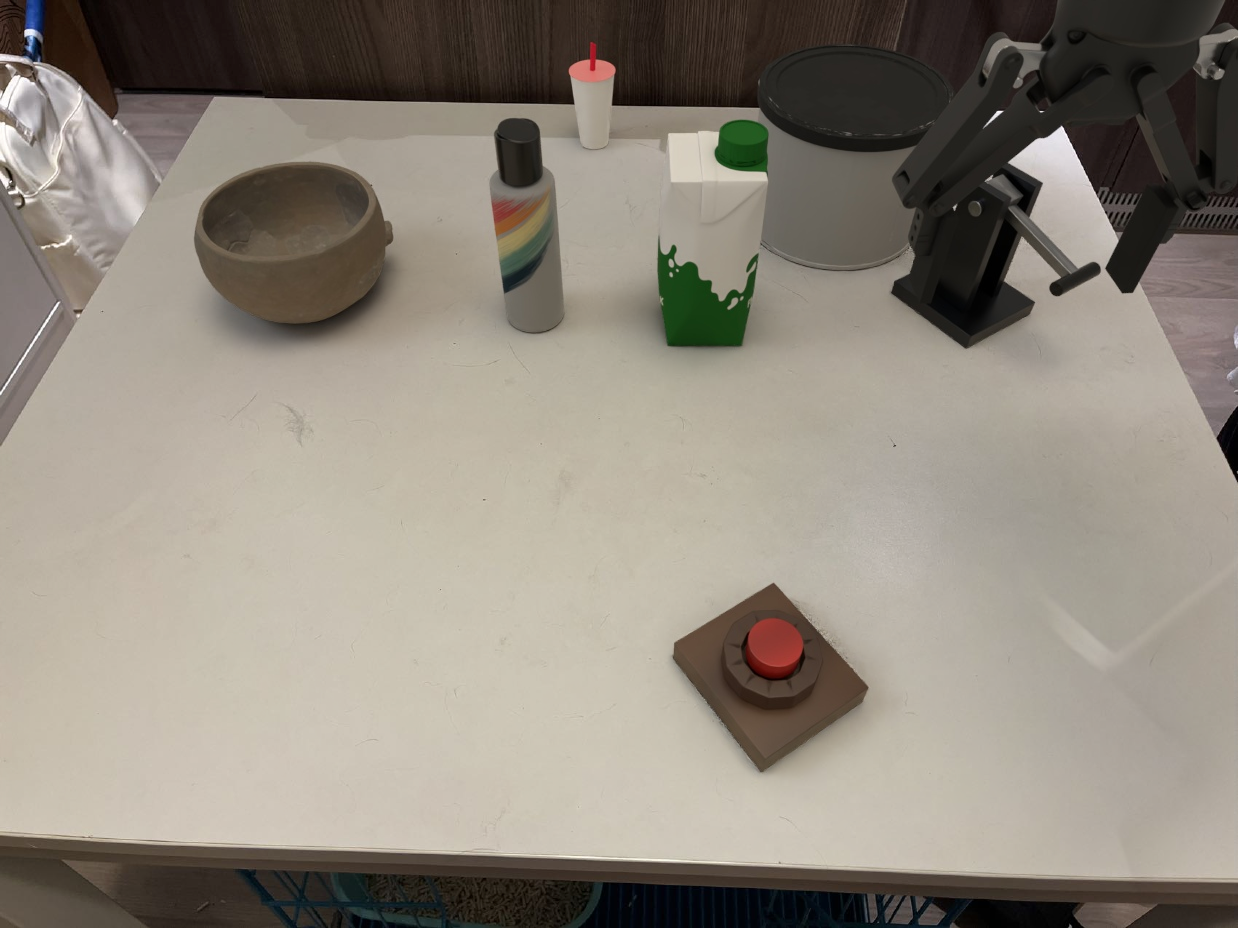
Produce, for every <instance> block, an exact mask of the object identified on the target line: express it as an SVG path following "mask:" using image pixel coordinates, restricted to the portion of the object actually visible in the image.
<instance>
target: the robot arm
mask: <svg viewBox="0 0 1238 928" xmlns="http://www.w3.org/2000/svg"><path fill="white" fill-rule="evenodd" d="M1225 2H1226V0H1057V2H1056V3H1057V4H1056V8H1055V15H1054V20H1053V23H1052V25H1051V27H1050V28H1049V30H1048V31H1047V33H1046V34H1045V35H1044V36H1043V38H1042V39H1041V40H1040V41H1039V42H1038V43H1035V42H1034V43H1033V42H1021V41H1013V40H1011V38H1010V37H1009V36H1008V35H1007V34H1006V32H1003V31H997V32H994V33H992V34H991V35H990V36H989V37H988V38H987V40H986V41H985V44H984V46H983V48H982V51H981V53H980V56H979V58H978V61H977V63H976V66H975V68H974V70H973V72H972V74H971V75H970V77H969V78H968V79H967V80H966V82H965V83H964V84H963V85H962V86H961V88H960V89H959V91H958V92H957V93H955V97H954V98H953V99H952V101H951V102H950V103H949V105H948V106H947V107H946V108H945V110H944V111H943V112H942V114H941V115H940V116H939V117H938V119H937V120H936V121H935V122H934V124H933V125H932V126H931V128H930V129H929V130H928V131H927V133H926V134H925V135H924V137H923V138H922V139H921V140H920V142H919V143H918V144H917V145H916V147H915V148H914V149H913V151H912V152H911V153H910V154H909V156H908V157H907V158H906V160H905V161H904V162H903V163H902V165H901V166H900V167H899V168H898V170H897V171H896V172H895V174H894V175H893V177H892V183H893V185H894V187H895V189H896V192H897V194H898V196H899V198H900V200H901V202H902V204H903V206H904V207H905V208H907V209H913V208H915V207H916V209H915V213H914V216H913V220H912V224H911V227H910V231H909V234H908V240H909V244H910V246H909V247H910V248H911V250H912V253H913V255H914V257H913V261H912V265H911V268H910V271H909V273H908V274H909V281H910V283H911V285H912V287H913V290H914V292H915V294H916V297H917V299H918V301H919V303H920V304H923V303H931V301H932V298H933V295H934V292H935V289H936V286H937V283H938V280H939V277H940V274H941V271H942V268H943V265H944V262H945V259H946V256H947V253H948V249H949V246H950V243H951V240H952V237H953V234H954V231H955V228H956V225H957V222H958V219H959V218H958V216H957V214H956V212H955V209H954V207H956V206H957V204H958V203H959V202H960V201H961V200H963V199H964V198H965V197H966V196H967V195H969V194H970V193H971V192H972V191H974V190H975V189H976V188H977V187H978V186H980V185H981V184H982V183H983V182H986V181H988V180H989V178H992V176H993V174H994V173H996V172H997V171H998V170H999V169H1000V168H1002V167H1003V166H1004V165H1005V164H1007V163H1010V161H1012V160H1013V159H1014V158H1016V156H1018V155H1019V154H1020V153H1021V152H1023V151H1024V150H1025V149H1026V148H1028V147H1029V146H1030V145H1031V144H1033V143H1034V142H1035V141H1037V140H1038V139H1039V140H1040V139H1045V138H1048V137H1050V136H1051V135H1053V134H1054V133H1055V132H1056V131H1058V130H1060V128H1061V127H1063V126H1064V125H1065V124H1067V126H1068V127H1069V128H1083V127H1087V126H1091V125H1094V124H1103V125H1107V126H1124V125H1125V124H1126V121H1128V120H1130V119H1132V118H1134V117H1135V119H1136V121H1137V124H1138V126H1139V128H1140V130H1141V132H1142V134H1143V137H1144V140H1145V142H1146V143H1147V146H1148V148H1149V151H1150V153H1151V155H1152V158H1153V160H1154V162H1155V164H1156V167H1157V169H1158V172H1159V174H1160V176H1161V178H1162V180H1163V182H1164V183H1165V184H1164V185H1163V186H1162V185H1161V184H1160V183H1157V182H1156V183H1146V185H1145V186H1144V189H1143V191H1142V193H1141V195H1140V197H1139V199H1138V201H1137V203H1136V205H1135V207H1134V209H1133V211H1132V213H1131V215H1130V216H1129V220H1128V221H1127V223H1126V225H1125V227H1124V229H1123V231H1122V233H1121V235H1120V237H1119V239H1118V241H1117V243H1116V244H1115V247H1114V249H1113V251H1112V253H1111V255H1110V257H1109V260H1108V262H1107V264H1106V265H1105V267H1104V269H1105V271H1106V273H1107V274H1108V275H1109V277H1110V278H1111V280H1112V281H1113V282H1114V284H1115V285H1116V287H1117V289H1118V290H1119V292H1120V293H1121V294H1122V295H1123V294H1133V293H1134V292H1135V290H1136V288H1137V287H1138V284H1139V283H1140V282H1141V280H1142V278H1143V275H1144V274H1145V272H1146V270H1147V268H1148V266H1149V264H1150V263H1151V261H1152V259H1153V257H1154V256H1155V253H1156V251H1157V250H1158V248H1159V246H1160V245H1166V244H1167V243H1169V241H1170V240H1171V239H1172V238H1173V237H1174V235H1175V233H1176V232H1177V229H1178V228H1179V226H1180V224H1181V222H1182V221H1183V219H1184V217H1185V215H1186V213H1187V211H1188V212H1191V213H1197V212H1199V211H1202V210H1203V209H1204V208H1205V207H1206V206H1207V205H1208V204H1209V202H1210V197H1209V196H1208V194H1209V193H1212V192H1215V193H1216V194H1218V195H1224V194H1228V193H1229V192H1231V191H1232V190H1233V189H1235V187H1236V186H1237V184H1238V29H1237V28H1235V26H1233V25H1232V24H1231V23H1229V22H1223V23H1219V24H1217V25H1216V26H1215V27H1214V28H1213V26H1214V25H1215V22H1216V20H1217V18H1218V16H1219V15H1220V12H1221V10H1222V8H1223V7H1224V4H1225ZM1212 28H1213V29H1212ZM1210 30H1211V31H1210ZM1208 32H1209V34H1208ZM1192 68H1193V70H1194V71H1195V165H1193V162H1192V161H1191V157H1190V155H1189V152H1188V150H1187V148H1186V147H1187V146H1186V145H1185V142H1184V139H1183V137H1182V134H1181V131H1180V129H1179V127H1178V125H1177V122H1176V121H1177V116H1176V113H1175V111H1174V109H1173V106H1172V104H1171V101H1170V99H1169V96H1168V93H1167V91H1168V90H1169V89H1170V88H1171V87H1172V86H1173V85H1175V84H1176V83H1177V82H1178V81H1179V80H1181V79H1182V78H1183V77H1184V76H1185V75H1186V74H1188V73H1189V71H1191V70H1192ZM1031 72H1035V74H1036V75H1035V76H1034V77H1033V78H1032V79H1030V80H1029V81H1028V82H1027V83H1026V84H1025V85H1024V86H1023V84H1024V78H1025V77H1026V76H1027V75H1028V74H1029V73H1031ZM1022 86H1023V87H1022ZM1021 87H1022V88H1021ZM1019 88H1020V89H1019ZM1013 89H1019V90H1018V91H1017V92H1016V93H1014V95H1013V97H1012V99H1011V103H1010V104H1009V106H1008V107H1006V108H1005V109H1004V110H1003V111H1002V112H1000V113H999V114H998V115H997V116H996V117H994V116H995V114H997V112H998V111H999V110H1000V109H1001V107H1002V106H1003V104H1004V103H1005V101H1006V100H1007V99H1008V97H1009V96H1010V93H1011V92H1012V90H1013ZM1044 99H1045V100H1046V102H1047V105H1048V107H1047V108H1046V109H1045V110H1043V111H1040V110H1039V108H1038V105H1039V104H1040V103H1041V102H1042V101H1043V100H1044ZM993 117H994V118H993ZM992 118H993V119H992ZM991 119H992V120H991Z"/></svg>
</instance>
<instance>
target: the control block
mask: <svg viewBox="0 0 1238 928" xmlns="http://www.w3.org/2000/svg"><path fill="white" fill-rule="evenodd" d="M770 618H776V619H781V620H784V621H786V622H788V623H790V624H792V625H793V626H794V627H795V628H796V629H797V630H798V632H799V633H800V635H801V637H802V640H803V650H802V654H801V657H800V660H799V663H798V666H797V668H796V669H795V671H794V672H793V673H792V674H790V675H789V676H787V677H784V678H780V679H770V678H766V677H763V676H761V675H759V674H758V673H756V672H755V671H754V670H753V669H752V668H751V666H750V665H749V663H748V661H747V659H746V646H747V641H748V636H749V633H750V630H751V629H752V627H753V626H754V625H755V624H757V623H758V622H760V621H762V620H764V619H770ZM672 659H673V660H674V661H675V662H676V664H677V665H678V666H679V668H680V669H681V670H682V671H683V673H684V674H685V676H686V677H687V678H688V680H689V681H690V682H691V683H692V685H693V686H694V687H695V689H697V691H698V692H699V693H700V695H701V697H703V699H704V700H705V701H706V703H707V704H708V705H709V706H710V708H711V709H712V710H713V712H714V713H715V715H717V717H718V719H720V721H721V722H722V723H723V725H724V726H725V728H727V730H728V731H729V732H730V734H731V735H732V736H733V738H734V739H735V740H736V742H737V743H738V744H739V746H740V747H741V748H742V749H743V751H745V753H746V755H747V756H748V757H749V758H750V760H751V761H752V763H753V764H754V765H755V766H756V767H757V769H758V770H759V771H760V772H761V773H762V772H765V771H766V770H767V769H769V768H770V767H771V766H773V765H774V764H776V763H777V762H778V761H780V760H781V759H783V758H785V756H787V755H789V754H790V753H791V752H793V751H794V750H796V749H797V748H798V747H800V746H801V745H803V744H805V743H806V742H807V741H809V740H811V738H813V737H815V736H816V735H818V734H819V733H820V732H822V731H823V730H825V729H826V728H827V727H829V726H830V725H832V724H833V723H834V722H836V721H837V720H838V719H841V717H843V716H844V715H846V714H847V713H849V712H850V711H852V710H853V709H854V708H855V707H857V706H859V705H860V704H862V703H863V702H864V700H865V697H866V696H867V693H868V691H869V689H870V688H869V685H868V684H867V683H866V682H865V681H864V680H863V679H862V678H861V677H860V676H859V675H858V673H857V672H856V671H855V670H854V669H853V668H852V667H851V666H850V665H849V664H848V662H847V661H846V660H845V659H844V658H843V657H842V656H841V654H839V652H838V651H837V650H836V649H835V648H834V647H833V646H832V645H831V643H830V642H829V641H827V639H826V638H825V636H823V635H822V633H820V632H819V631H818V629H816V627H815V626H814V624H813V623H812V622H810V621H809V620H808V618H807V617H806V616H805V615H804V614H803V612H801V611H800V610H799V609H798V607H797V606H796V605H795V604H794V603H793V602H792V601H791V600H790V599H789V597H788V596H787V595H786V594H785V593H784V591H782V590H781V589H780V587H779V586H778V585H777V583H775V582H771V583H770V584H769V585H767V586H765V587H764V588H762V589H761V590H758V591H757V592H755V593H754V594H752V595H750V596H749V597H747V598H746V599H744V600H742V601H741V602H739V603H738V604H736V605H733V606H732V607H731V608H729V609H727V610H726V611H724V612H723V613H721V614H719V615H718V616H715V617H714V618H713V619H711V620H710V621H708V622H706V623H705V624H702V625H701V626H700V627H698V628H696V629H695V630H693V631H691V632H690V633H688V634H687V635H685V636H683V637H682V638H679V639H678V640H676V641H675V642H674V643H673V652H672Z"/></svg>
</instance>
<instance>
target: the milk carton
mask: <svg viewBox="0 0 1238 928" xmlns="http://www.w3.org/2000/svg"><path fill="white" fill-rule="evenodd" d="M768 137H769V132H768V130H767V128H766V127H765V126H764V125H762V124H760V123H758V121H755V120H751V119H734V120H730V121H727V122H725V123H724V124H722V126H721V127H720V128H719V131H712V130H698V131H697V132H668V134H667V141H666V148H665V155H664V162H663V169H662V170H663V171H662V177H661V183H660V192H659V205H658V206H659V207H658V227H657V228H658V230H657V231H658V235H657V237H658V238H657V265H656V266H657V267H656V269H657V271H656V272H657V285H658V297H659V303H660V310H661V316H662V321H663V326H664V332H665V339H666V345H667V346H668V347H673V346H675V347H683V346H684V347H686V346H687V347H689V346H690V347H694V346H695V347H696V346H697V347H700V346H701V347H703V346H706V347H708V346H710V347H711V346H712V347H713V346H714V347H715V346H717V347H719V346H723V347H724V346H725V347H726V346H734V347H735V346H743V342H744V336H745V332H746V328H747V324H748V320H749V315H750V311H751V306H752V302H753V296H754V292H755V284H756V278H757V269H758V263H759V256H760V249H761V243H760V242H761V234H762V227H763V219H764V211H765V203H766V195H767V187H768V178H767V177H768V170H767V165H768V154H767V145H768Z"/></svg>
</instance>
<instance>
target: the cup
mask: <svg viewBox="0 0 1238 928" xmlns="http://www.w3.org/2000/svg"><path fill="white" fill-rule="evenodd" d="M589 52H590V56H589V59H584V60H580V61H577V62H575V63H573V64H572V65H571V66H570V67H569V68H568V74H569V75H570V82H571V87H572V88H571V89H572V97H573V103H574V109H575V116H576V117H575V118H576V122H577V130H578V134H579V142H580V145H581V146H582V147H584V148H585V149H589V150H599V149H604V148H606V146H608V144H609V138H610V130H611V118H612V106H613V94H614V82H615V74H616V67H615V66H614V64H612V63H610V62H609V61H606V60H602V59H597V44H596V43H594V42H592V41H591V42H590V51H589Z"/></svg>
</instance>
